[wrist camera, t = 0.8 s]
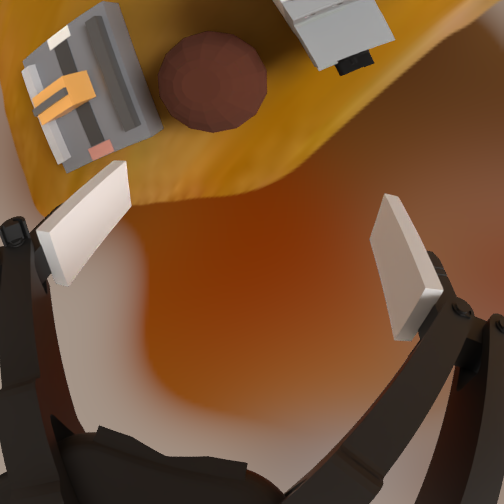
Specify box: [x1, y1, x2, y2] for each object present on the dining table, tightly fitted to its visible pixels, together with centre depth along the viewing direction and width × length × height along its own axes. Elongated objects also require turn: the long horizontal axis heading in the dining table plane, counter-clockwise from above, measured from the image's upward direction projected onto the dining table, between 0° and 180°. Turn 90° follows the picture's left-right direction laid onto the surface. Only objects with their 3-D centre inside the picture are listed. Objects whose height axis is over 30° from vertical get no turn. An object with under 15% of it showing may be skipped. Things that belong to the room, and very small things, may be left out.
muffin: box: [158, 31, 267, 133], centre depth 30 cm, size 12×11×10 cm
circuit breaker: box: [272, 0, 395, 76], centre depth 21 cm, size 8×14×15 cm, turn 30°
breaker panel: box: [21, 1, 164, 173], centre depth 33 cm, size 20×16×6 cm
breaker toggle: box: [32, 70, 96, 126], centre depth 29 cm, size 4×6×6 cm, turn 106°
